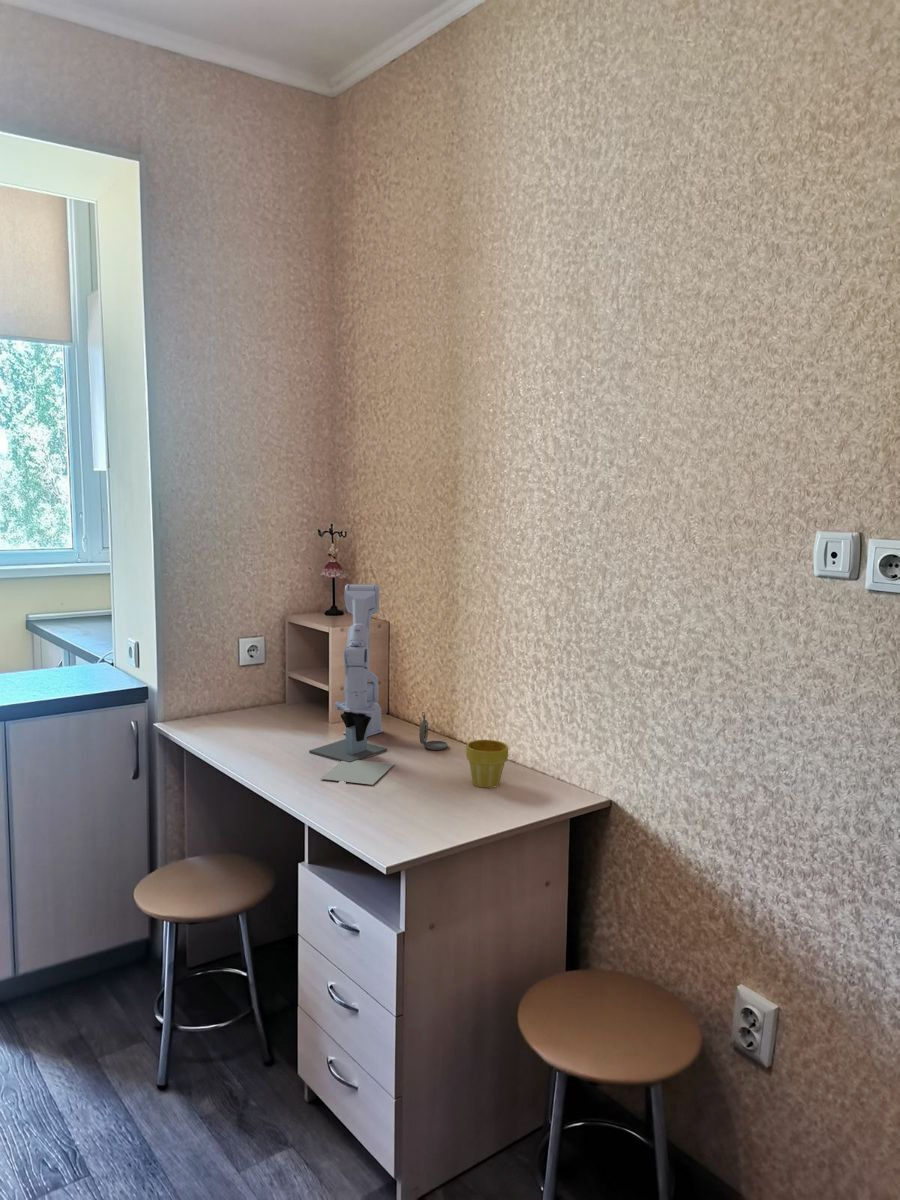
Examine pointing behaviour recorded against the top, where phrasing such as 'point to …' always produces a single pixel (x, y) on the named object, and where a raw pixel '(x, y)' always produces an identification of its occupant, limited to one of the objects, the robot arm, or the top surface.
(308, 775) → the top surface
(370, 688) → the robot arm
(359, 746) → the blue-grey rectangular block
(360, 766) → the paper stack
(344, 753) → the mat
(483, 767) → the plant pot
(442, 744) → the pocket watch
